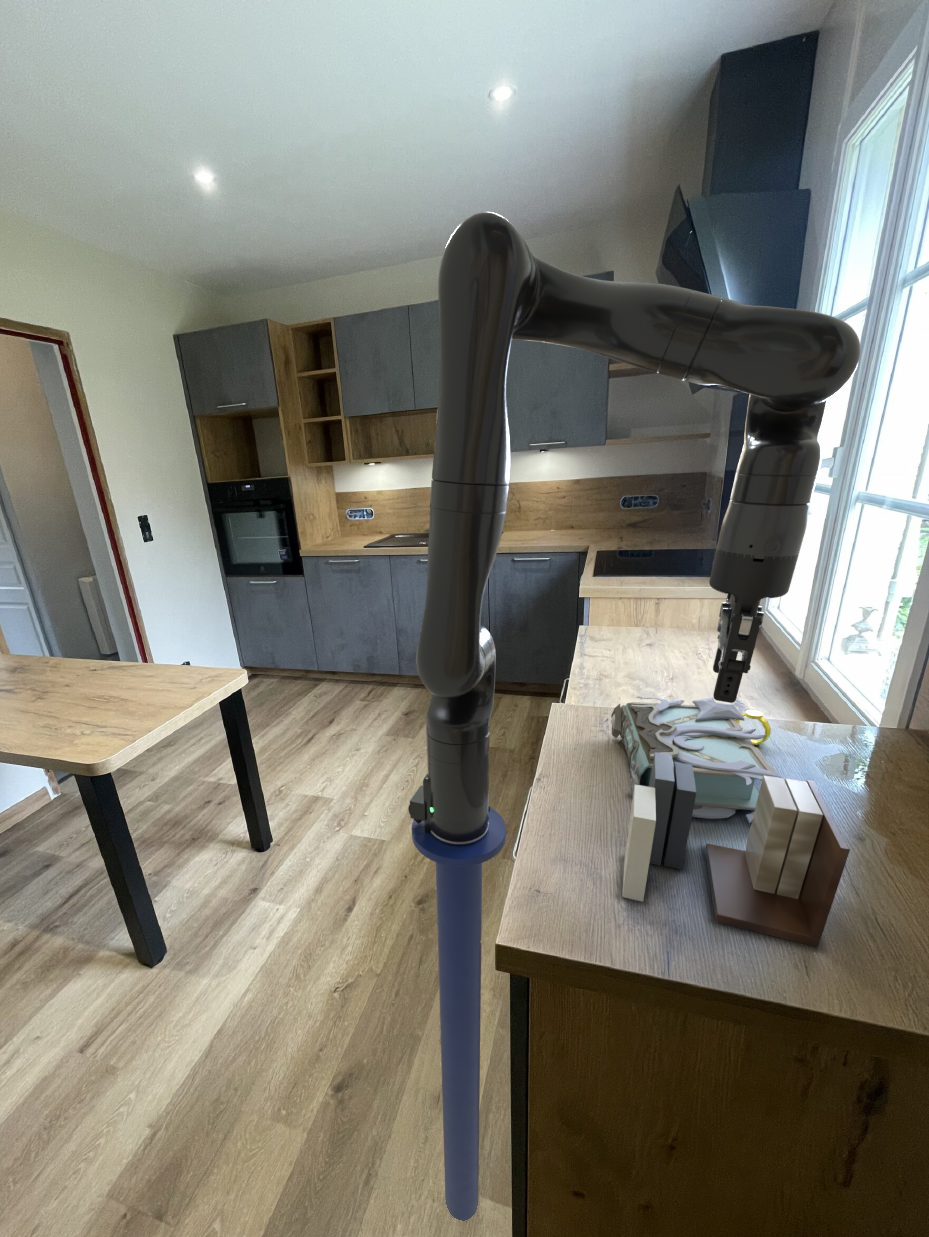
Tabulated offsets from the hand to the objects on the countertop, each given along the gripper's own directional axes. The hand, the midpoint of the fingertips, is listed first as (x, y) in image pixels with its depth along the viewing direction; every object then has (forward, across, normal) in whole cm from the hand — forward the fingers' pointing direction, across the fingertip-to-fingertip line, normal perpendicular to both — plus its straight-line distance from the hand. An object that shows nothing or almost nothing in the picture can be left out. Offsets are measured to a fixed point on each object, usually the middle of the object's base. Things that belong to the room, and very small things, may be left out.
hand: (722, 685), depth 62 cm
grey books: (+25, 0, -2) cm, 25 cm away
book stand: (+25, +4, +8) cm, 26 cm away
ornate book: (+26, -22, 0) cm, 34 cm away
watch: (+26, -38, +10) cm, 47 cm away
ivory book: (+25, +8, -5) cm, 27 cm away
